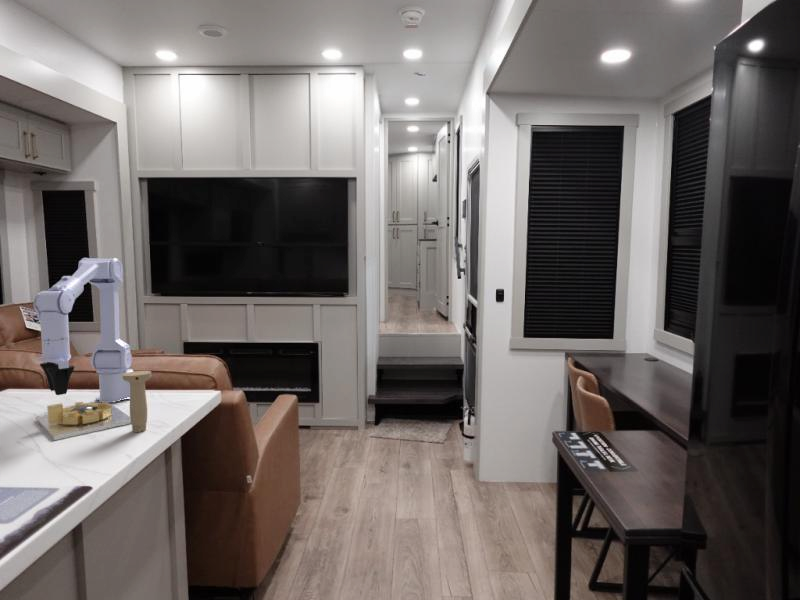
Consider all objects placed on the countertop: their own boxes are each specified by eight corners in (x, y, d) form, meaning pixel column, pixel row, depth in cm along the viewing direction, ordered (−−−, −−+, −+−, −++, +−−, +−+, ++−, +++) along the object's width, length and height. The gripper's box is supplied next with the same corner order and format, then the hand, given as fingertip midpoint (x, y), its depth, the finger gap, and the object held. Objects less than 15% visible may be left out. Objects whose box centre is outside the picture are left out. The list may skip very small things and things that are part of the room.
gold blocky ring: (102, 407, 143) (102, 391, 142) (116, 416, 135) (115, 400, 134) (43, 418, 133) (42, 401, 132) (54, 429, 125) (53, 411, 124)
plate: (110, 406, 148) (109, 393, 148) (134, 422, 134) (133, 408, 134) (36, 420, 135) (35, 406, 135) (54, 440, 121) (53, 424, 121)
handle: (153, 431, 128) (151, 374, 126) (124, 435, 125) (122, 376, 124) (153, 425, 132) (151, 370, 131) (125, 429, 129) (123, 372, 128)
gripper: (29, 336, 127) (32, 389, 128) (42, 344, 117) (46, 401, 118) (62, 333, 132) (65, 384, 133) (77, 340, 122) (80, 395, 123)
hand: (58, 392), depth 126 cm, fingers open, 5 cm apart
